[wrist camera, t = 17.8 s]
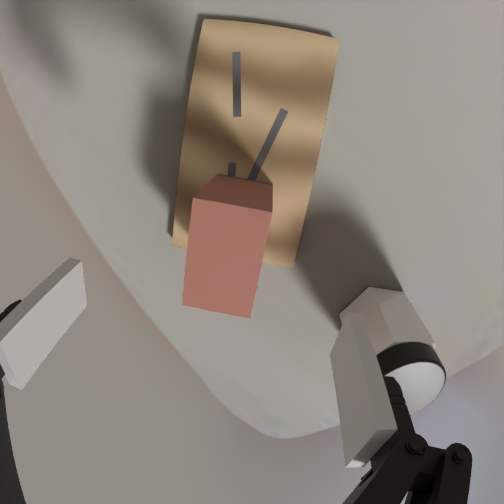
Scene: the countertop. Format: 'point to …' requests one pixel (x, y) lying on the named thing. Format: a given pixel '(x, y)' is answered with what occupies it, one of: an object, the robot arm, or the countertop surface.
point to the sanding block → (227, 244)
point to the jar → (401, 344)
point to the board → (257, 121)
